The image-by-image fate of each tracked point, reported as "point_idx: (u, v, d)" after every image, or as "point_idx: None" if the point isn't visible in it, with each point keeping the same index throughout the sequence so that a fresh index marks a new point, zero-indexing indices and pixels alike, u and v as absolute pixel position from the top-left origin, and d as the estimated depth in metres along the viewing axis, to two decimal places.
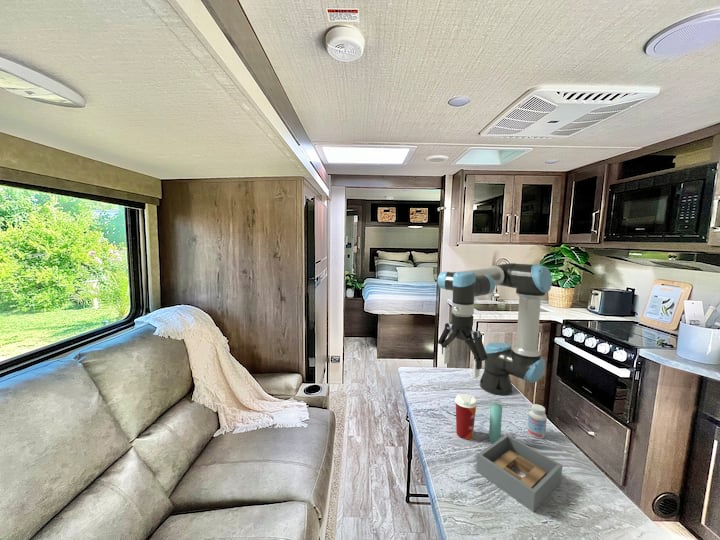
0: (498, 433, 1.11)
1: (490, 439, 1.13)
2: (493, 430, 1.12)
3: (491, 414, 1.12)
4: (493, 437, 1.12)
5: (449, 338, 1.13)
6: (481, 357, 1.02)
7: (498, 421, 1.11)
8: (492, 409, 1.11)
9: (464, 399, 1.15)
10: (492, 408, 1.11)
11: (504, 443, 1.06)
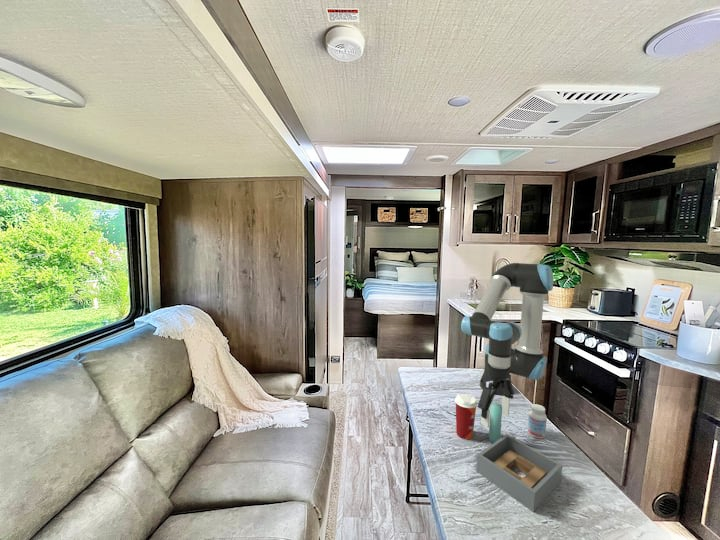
0: (498, 433, 1.11)
1: (490, 439, 1.13)
2: (493, 430, 1.12)
3: (491, 414, 1.12)
4: (493, 437, 1.12)
5: None
6: None
7: (498, 421, 1.11)
8: (492, 409, 1.11)
9: (464, 399, 1.15)
10: (492, 408, 1.11)
11: (504, 443, 1.06)
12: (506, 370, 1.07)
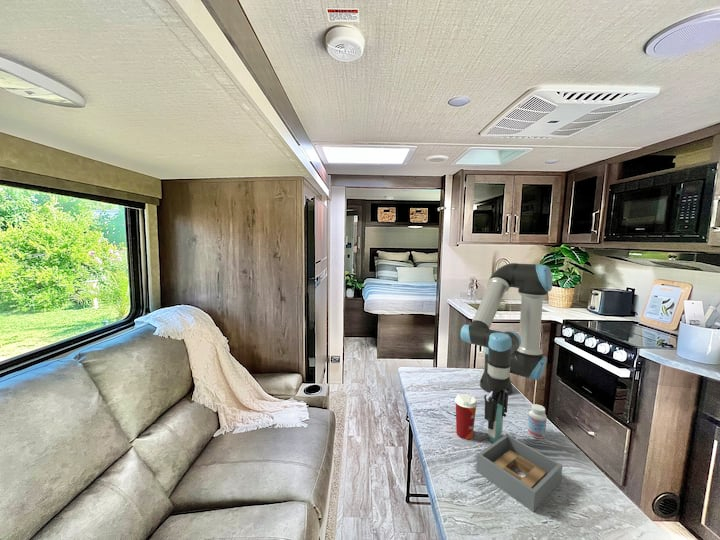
0: (498, 432, 1.11)
1: (490, 438, 1.13)
2: None
3: None
4: None
5: None
6: None
7: (498, 421, 1.11)
8: None
9: (464, 399, 1.15)
10: None
11: (504, 443, 1.06)
12: (505, 380, 1.07)
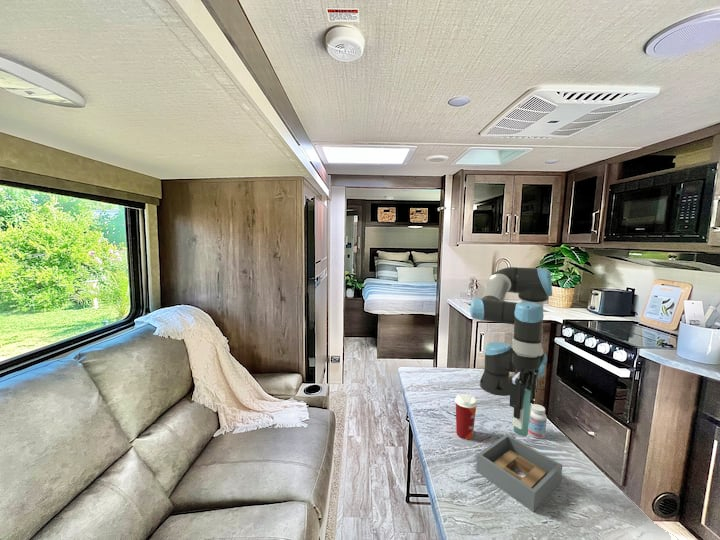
0: (526, 423, 0.92)
1: (516, 430, 0.94)
2: None
3: None
4: None
5: None
6: None
7: (526, 409, 0.92)
8: None
9: (464, 399, 1.15)
10: None
11: (504, 443, 1.06)
12: (536, 359, 0.88)
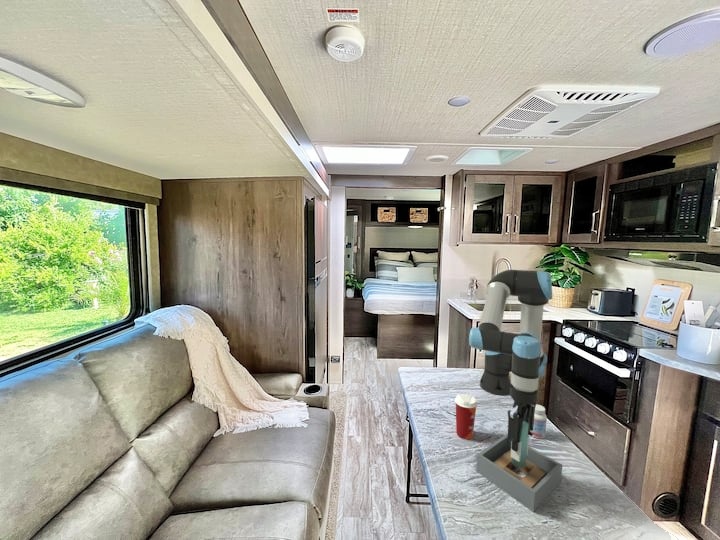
0: (524, 455, 0.93)
1: (514, 462, 0.95)
2: None
3: None
4: None
5: None
6: None
7: (524, 441, 0.93)
8: None
9: (464, 399, 1.15)
10: None
11: (504, 443, 1.06)
12: (534, 393, 0.90)
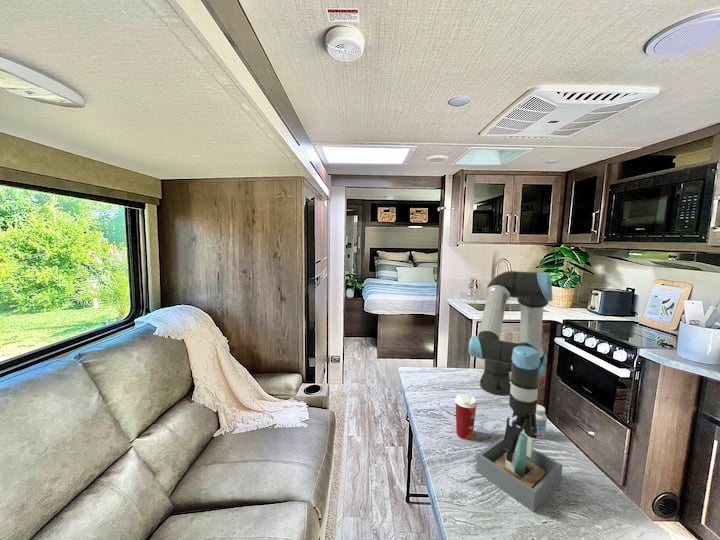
0: (523, 469, 0.94)
1: None
2: (516, 465, 0.94)
3: None
4: None
5: None
6: None
7: (523, 455, 0.94)
8: None
9: (464, 399, 1.15)
10: None
11: None
12: (533, 404, 0.90)
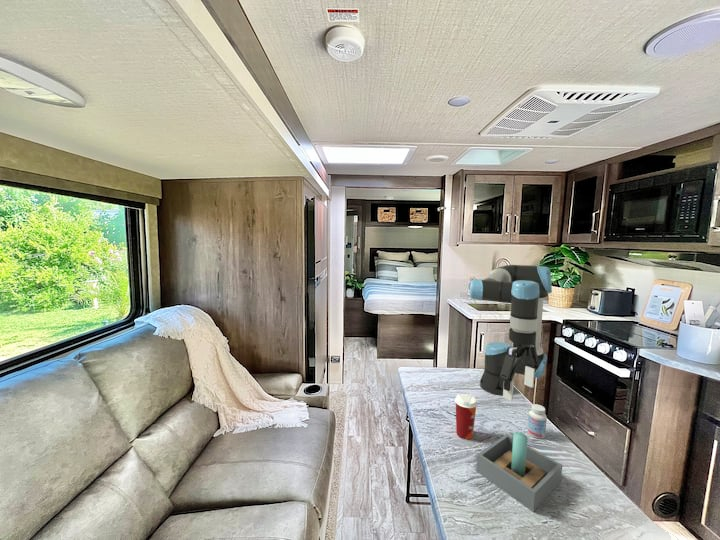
0: (523, 469, 0.94)
1: None
2: (516, 465, 0.94)
3: (514, 446, 0.95)
4: None
5: None
6: None
7: (523, 455, 0.94)
8: (515, 440, 0.94)
9: (464, 399, 1.15)
10: (515, 439, 0.94)
11: (504, 443, 1.06)
12: (532, 334, 0.91)
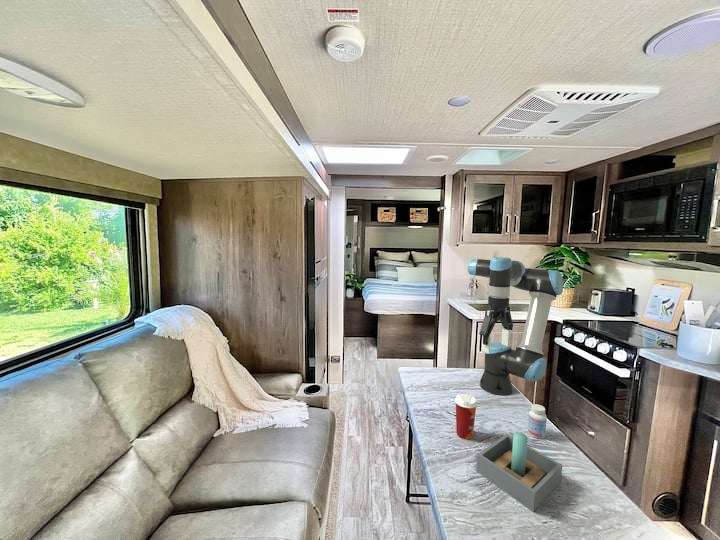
0: (523, 469, 0.94)
1: None
2: (516, 465, 0.94)
3: (514, 446, 0.95)
4: None
5: None
6: None
7: (523, 455, 0.94)
8: (515, 440, 0.94)
9: (464, 399, 1.15)
10: (515, 439, 0.94)
11: (504, 443, 1.06)
12: (506, 299, 1.14)
